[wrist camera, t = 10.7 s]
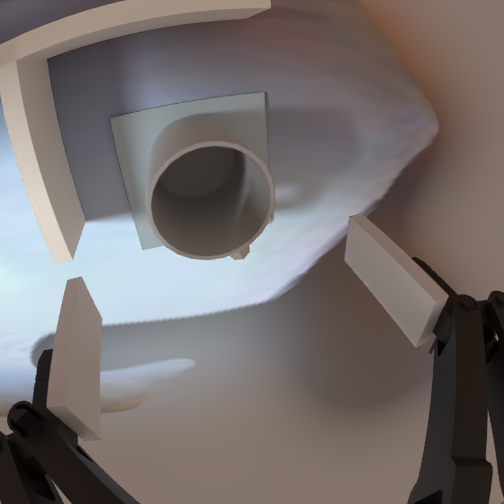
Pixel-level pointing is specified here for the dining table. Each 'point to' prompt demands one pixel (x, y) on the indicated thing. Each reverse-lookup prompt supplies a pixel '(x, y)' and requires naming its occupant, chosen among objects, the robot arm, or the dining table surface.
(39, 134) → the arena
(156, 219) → the cup
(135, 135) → the pad
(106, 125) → the dining table surface
